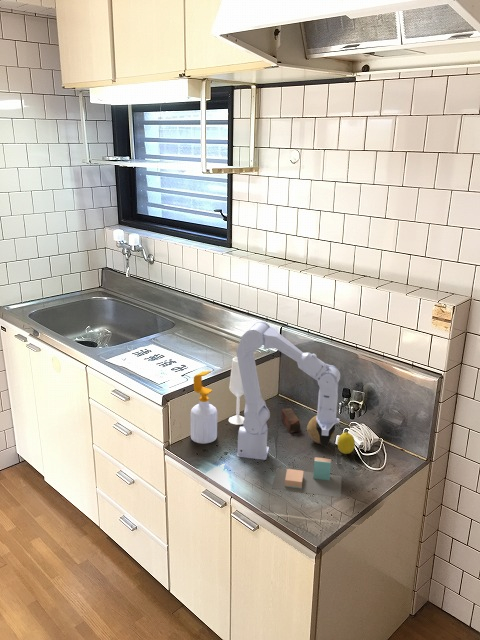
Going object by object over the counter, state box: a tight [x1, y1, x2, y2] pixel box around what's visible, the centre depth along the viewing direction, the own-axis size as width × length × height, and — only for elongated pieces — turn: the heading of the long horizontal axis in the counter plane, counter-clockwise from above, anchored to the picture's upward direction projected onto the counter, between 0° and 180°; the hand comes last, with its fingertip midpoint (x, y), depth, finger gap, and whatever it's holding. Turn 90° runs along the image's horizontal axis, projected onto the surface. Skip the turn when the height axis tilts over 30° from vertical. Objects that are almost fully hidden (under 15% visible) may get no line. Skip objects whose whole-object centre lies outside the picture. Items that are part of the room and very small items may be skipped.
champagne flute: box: [228, 356, 245, 425], centre depth 201 cm, size 7×7×24 cm
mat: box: [272, 467, 342, 498], centre depth 167 cm, size 20×11×1 cm, turn 79°
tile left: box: [285, 468, 305, 489], centre depth 167 cm, size 5×2×6 cm
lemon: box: [337, 432, 356, 455], centre depth 183 cm, size 6×6×8 cm
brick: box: [280, 407, 301, 433], centre depth 201 cm, size 11×4×5 cm, turn 14°
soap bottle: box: [190, 370, 218, 445], centre depth 188 cm, size 9×9×25 cm
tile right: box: [312, 456, 332, 480], centre depth 169 cm, size 5×2×6 cm, turn 79°
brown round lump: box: [306, 414, 335, 445], centre depth 190 cm, size 9×9×10 cm
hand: (324, 445), depth 174 cm, fingers closed
